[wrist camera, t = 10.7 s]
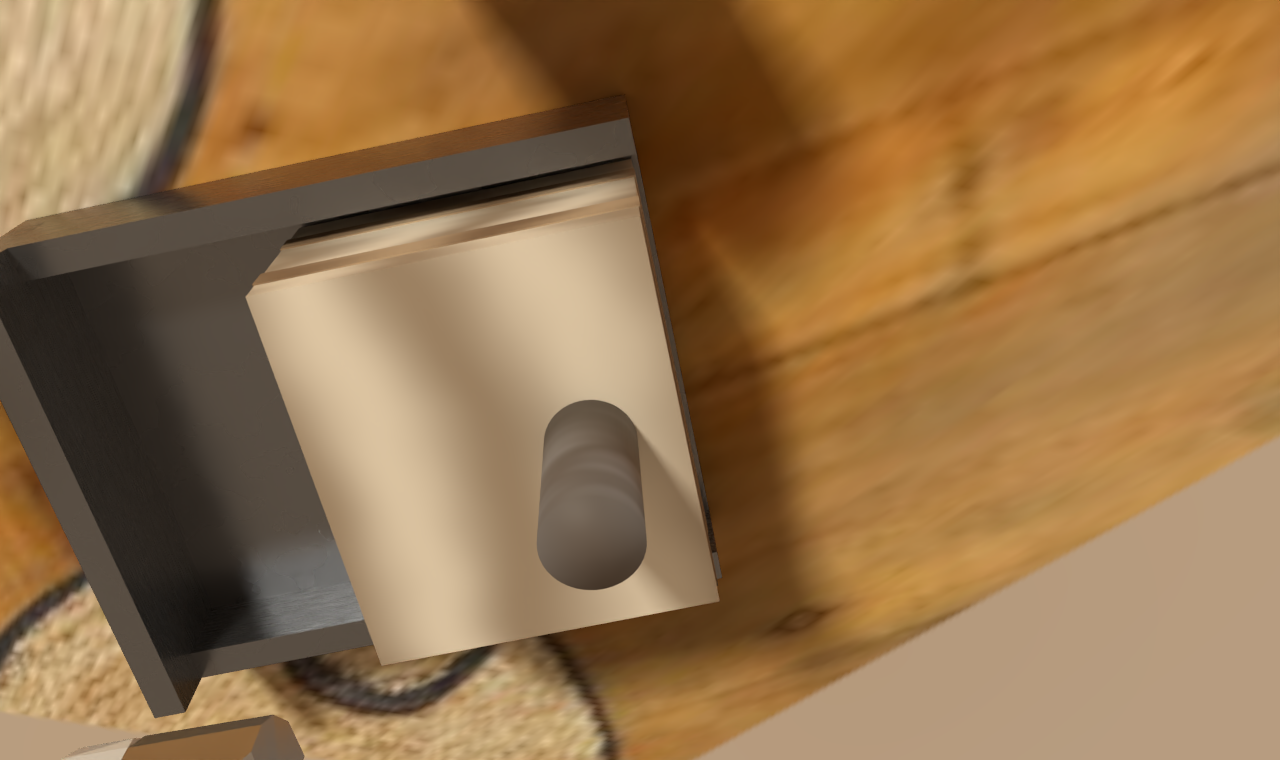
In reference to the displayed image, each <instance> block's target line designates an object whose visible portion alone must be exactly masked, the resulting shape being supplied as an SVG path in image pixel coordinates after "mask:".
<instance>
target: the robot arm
mask: <svg viewBox="0 0 1280 760" xmlns="http://www.w3.org/2000/svg"><path fill="white" fill-rule="evenodd" d="M303 759H304V754H303V752H302V750H301V747H300V745H299V743H298V741H297V739H296V737H295V735H294V733H293V730H292V728H291V726H290V724H289V722H288V721H286V720H284V719H282V718H280V717H277V716H275V715H269V716H263V717H257V718H251V719H245V720H238V721H232V722H226V723H220V724H214V725H208V726H202V727H196V728H190V729H184V730H178V731H172V732H166V733H160V734H154V735H148V736H144V737H143V738H138V739H136V738H134V739H128V740H122V741H117V742H111V743H106V744H101V745H95V746H89V747H83V748H79V749H77V750H76V751H74V752H72V753H71V754H69V755H67V756H65V757H64V758H62V759H61V760H303Z"/></svg>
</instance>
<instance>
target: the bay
mask: <svg viewBox="0 0 1280 760" xmlns="http://www.w3.org/2000/svg"><path fill="white" fill-rule="evenodd" d="M628 159H631V160H632V165H633V168H634V170H635V175H636V180H637V184H638V189H639V194H640V199H641V204H642V209H643V214H644V219H645V223H646V228H647V233H648V238H649V243H650V248H651V253H652V258H653V263H654V267H655V272H656V277H657V282H658V287H659V292H660V297H661V302H662V306H663V311H664V316H665V321H666V326H667V331H668V336H669V341H670V345H671V350H672V355H673V360H674V365H675V370H676V375H677V380H678V384H679V389H680V394H681V399H682V404H683V409H684V414H685V419H686V424H687V428H688V433H689V438H690V443H691V448H692V453H693V458H694V463H695V467H696V472H697V477H698V482H699V487H700V492H701V497H702V502H703V506H704V511H705V516H706V521H707V527H708V537H709V541H710V546H711V551H712V556H713V561H714V566H715V571H716V576H717V579H719V578H722V574H721V569H720V564H719V559H718V553H717V548H716V543H715V538H714V532H713V527H712V522H711V517H710V512H709V507H708V502H707V497H706V492H705V487H704V482H703V477H702V473H701V468H700V463H699V458H698V453H697V448H696V443H695V438H694V433H693V428H692V423H691V418H690V413H689V408H688V403H687V399H686V394H685V389H684V384H683V379H682V374H681V369H680V364H679V359H678V354H677V349H676V344H675V339H674V334H673V330H672V325H671V320H670V315H669V310H668V305H667V300H666V295H665V290H664V285H663V280H662V275H661V270H660V265H659V261H658V256H657V251H656V246H655V241H654V236H653V231H652V226H651V221H650V216H649V211H648V206H647V201H646V196H645V191H644V187H643V182H642V177H641V172H640V167H639V162H638V157H637V152H636V147H635V142H634V137H633V132H632V127H631V122H630V118H629V113H628V108H627V103H626V98H625V94H624V95H619V96H615V97H610V98H605V99H600V100H596V101H591V102H586V103H581V104H577V105H572V106H567V107H562V108H558V109H553V110H548V111H543V112H539V113H534V114H529V115H524V116H520V117H515V118H510V119H506V120H501V121H496V122H491V123H487V124H482V125H477V126H472V127H468V128H463V129H458V130H453V131H449V132H444V133H439V134H434V135H430V136H425V137H420V138H415V139H411V140H406V141H401V142H396V143H392V144H387V145H382V146H378V147H373V148H368V149H363V150H359V151H354V152H349V153H344V154H340V155H335V156H330V157H325V158H321V159H316V160H311V161H306V162H302V163H297V164H292V165H287V166H283V167H278V168H273V169H269V170H264V171H259V172H254V173H250V174H245V175H240V176H235V177H231V178H226V179H221V180H216V181H212V182H207V183H202V184H197V185H193V186H188V187H183V188H178V189H174V190H169V191H164V192H159V193H155V194H150V195H145V196H141V197H136V198H131V199H126V200H122V201H117V202H112V203H107V204H103V205H98V206H93V207H88V208H84V209H79V210H74V211H69V212H65V213H60V214H55V215H50V216H46V217H41V218H36V219H32V220H27V221H25V222H23V223H22V224H20V225H18V226H17V227H15V228H14V229H12V230H11V231H9V232H8V233H6V234H4V235H3V236H1V237H0V400H1V402H2V404H3V406H4V408H5V411H6V413H7V415H8V417H9V419H10V421H11V423H12V425H13V427H14V429H15V431H16V433H17V435H18V437H19V439H20V441H21V444H22V446H23V448H24V450H25V452H26V454H27V456H28V458H29V460H30V462H31V464H32V466H33V468H34V470H35V472H36V474H37V476H38V479H39V481H40V483H41V485H42V487H43V489H44V491H45V493H46V495H47V497H48V499H49V501H50V503H51V505H52V507H53V509H54V511H55V514H56V516H57V518H58V520H59V522H60V524H61V526H62V528H63V530H64V532H65V534H66V536H67V538H68V540H69V542H70V544H71V547H72V549H73V551H74V553H75V555H76V557H77V559H78V561H79V563H80V565H81V567H82V569H83V571H84V573H85V575H86V577H87V579H88V582H89V584H90V586H91V588H92V590H93V592H94V594H95V596H96V598H97V600H98V602H99V604H100V606H101V608H102V610H103V612H104V614H105V617H106V619H107V621H108V623H109V625H110V627H111V629H112V631H113V633H114V635H115V637H116V639H117V641H118V643H119V645H120V647H121V650H122V652H123V654H124V656H125V658H126V660H127V662H128V664H129V666H130V668H131V670H132V672H133V674H134V676H135V678H136V680H137V682H138V685H139V687H140V689H141V691H142V693H143V695H144V697H145V699H146V701H147V703H148V705H149V707H150V709H151V711H152V713H153V715H154V717H155V718H158V717H163V716H168V715H174V714H179V713H184V712H186V710H187V708H188V706H189V704H190V701H191V699H192V697H193V695H194V693H195V691H196V689H197V686H198V684H199V682H200V680H201V678H202V677H208V676H213V675H218V674H223V673H229V672H234V671H239V670H244V669H249V668H255V667H260V666H265V665H270V664H275V663H281V662H286V661H291V660H296V659H302V658H307V657H312V656H317V655H322V654H328V653H333V652H338V651H343V650H348V649H354V648H359V647H364V646H369V645H374V644H373V641H372V639H371V636H370V633H369V631H368V628H367V625H366V623H365V620H364V617H363V614H362V612H361V609H360V606H359V604H358V601H357V598H356V595H355V593H354V590H353V587H352V585H351V582H350V579H349V576H348V574H347V571H346V568H345V566H344V563H343V560H342V557H341V555H340V552H339V549H338V547H337V544H336V541H335V538H334V536H333V533H332V530H331V528H330V525H329V522H328V519H327V517H326V514H325V511H324V509H323V506H322V503H321V501H320V498H319V495H318V492H317V490H316V487H315V484H314V482H313V479H312V476H311V473H310V471H309V468H308V465H307V463H306V460H305V457H304V454H303V452H302V449H301V446H300V444H299V441H298V438H297V435H296V433H295V430H294V427H293V425H292V422H291V419H290V416H289V414H288V411H287V408H286V406H285V403H284V400H283V398H282V395H281V392H280V389H279V387H278V384H277V381H276V379H275V376H274V373H273V370H272V368H271V365H270V362H269V360H268V357H267V354H266V351H265V349H264V346H263V343H262V341H261V338H260V335H259V332H258V330H257V327H256V324H255V322H254V319H253V316H252V313H251V311H250V308H249V305H248V303H247V300H246V296H247V294H248V293H249V292H250V291H251V289H252V288H253V285H252V284H253V283H254V282H255V280H256V279H257V278H258V276H259V275H260V274H262V273H265V271H266V270H267V269H268V267H269V266H270V265H271V264H272V262H273V261H274V260H275V258H276V257H277V256H278V255H279V253H280V252H281V250H280V248H281V247H282V246H283V245H284V243H285V242H286V241H287V240H289V239H291V238H292V237H293V235H294V234H295V233H296V231H297V230H298V229H299V228H302V227H307V226H312V225H316V224H321V223H326V222H331V221H336V220H340V219H345V218H350V217H355V216H360V215H364V214H369V213H374V212H379V211H384V210H388V209H393V208H398V207H403V206H408V205H412V204H417V203H422V202H427V201H432V200H436V199H441V198H446V197H451V196H456V195H460V194H465V193H470V192H475V191H480V190H484V189H489V188H494V187H499V186H504V185H508V184H513V183H518V182H523V181H528V180H532V179H537V178H542V177H547V176H552V175H556V174H561V173H566V172H571V171H576V170H580V169H585V168H590V167H595V166H600V165H604V164H609V163H614V162H619V161H624V160H628Z"/></svg>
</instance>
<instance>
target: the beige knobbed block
mask: <svg viewBox="0 0 1280 760" xmlns="http://www.w3.org/2000/svg"><path fill="white" fill-rule="evenodd" d="M280 250H281V252H280V253H279V255H278V256H277V257H276V258H275V260H274V261H273V262H272V264H271V265H270V266H269V267H268V269H267V270H266V271H265V273H262V274H260V275H259V276H258V278H257V279H256V280H255V282H254V283H253V284H252V285H253V288H252V289H251V291H250V292H249V293H248V294H247V296H246V300H247V303H248V305H249V308H250V311H251V313H252V316H253V319H254V322H255V324H256V327H257V330H258V332H259V335H260V338H261V341H262V343H263V346H264V349H265V351H266V354H267V357H268V360H269V362H270V365H271V368H272V370H273V373H274V376H275V379H276V381H277V384H278V387H279V389H280V392H281V395H282V398H283V400H284V403H285V406H286V408H287V411H288V414H289V416H290V419H291V422H292V425H293V427H294V430H295V433H296V435H297V438H298V441H299V444H300V446H301V449H302V452H303V454H304V457H305V460H306V463H307V465H308V468H309V471H310V473H311V476H312V479H313V482H314V484H315V487H316V490H317V492H318V495H319V498H320V501H321V503H322V506H323V509H324V511H325V514H326V517H327V519H328V522H329V525H330V528H331V530H332V533H333V536H334V538H335V541H336V544H337V547H338V549H339V552H340V555H341V557H342V560H343V563H344V566H345V568H346V571H347V574H348V576H349V579H350V582H351V585H352V587H353V590H354V593H355V595H356V598H357V601H358V604H359V606H360V609H361V612H362V614H363V617H364V620H365V623H366V625H367V628H368V631H369V633H370V636H371V639H372V641H373V644H374V647H375V650H376V652H377V655H378V658H379V660H380V663H381V666H383V665H389V664H394V663H399V662H404V661H410V660H415V659H420V658H425V657H431V656H436V655H441V654H446V653H452V652H457V651H462V650H467V649H473V648H478V647H483V646H488V645H493V644H499V643H504V642H509V641H514V640H520V639H525V638H530V637H535V636H541V635H546V634H551V633H556V632H562V631H567V630H572V629H577V628H583V627H588V626H593V625H598V624H603V623H609V622H614V621H619V620H624V619H630V618H635V617H640V616H645V615H651V614H656V613H661V612H666V611H672V610H677V609H682V608H687V607H693V606H698V605H703V604H708V603H713V602H719V595H718V590H717V586H718V582H717V576H716V571H715V566H714V561H713V556H712V551H711V546H710V541H709V537H708V527H707V521H706V516H705V511H704V506H703V502H702V497H701V492H700V487H699V482H698V477H697V472H696V467H695V463H694V458H693V453H692V448H691V443H690V438H689V433H688V428H687V424H686V419H685V414H684V409H683V404H682V399H681V394H680V389H679V384H678V380H677V375H676V370H675V365H674V360H673V355H672V350H671V345H670V341H669V336H668V331H667V326H666V321H665V316H664V311H663V306H662V302H661V297H660V292H659V287H658V282H657V277H656V272H655V267H654V263H653V258H652V253H651V248H650V243H649V238H648V233H647V228H646V223H645V219H644V214H643V209H642V204H641V199H640V194H639V189H638V184H637V180H636V175H635V170H634V168H633V165H632V160H631V159H628V160H624V161H619V162H614V163H609V164H604V165H600V166H595V167H590V168H585V169H580V170H576V171H571V172H566V173H561V174H556V175H552V176H547V177H542V178H537V179H532V180H528V181H523V182H518V183H513V184H508V185H504V186H499V187H494V188H489V189H484V190H480V191H475V192H470V193H465V194H460V195H456V196H451V197H446V198H441V199H436V200H432V201H427V202H422V203H417V204H412V205H408V206H403V207H398V208H393V209H388V210H384V211H379V212H374V213H369V214H364V215H360V216H355V217H350V218H345V219H340V220H336V221H331V222H326V223H321V224H316V225H312V226H307V227H302V228H299V229H298V230H297V231H296V233H295V234H294V235H293V237H292V238H291V239H289V240H287V241H286V242H285V243H284V245H283V246H282V247H281V248H280Z"/></svg>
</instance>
